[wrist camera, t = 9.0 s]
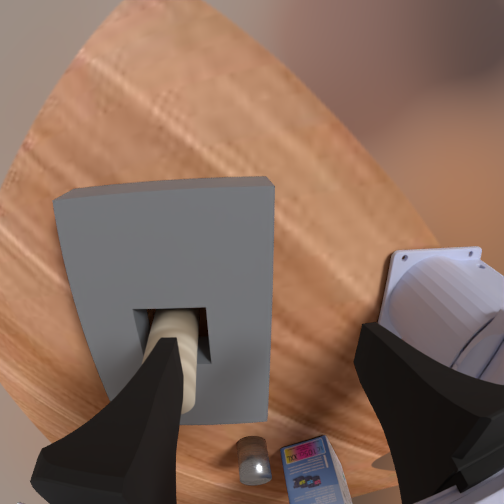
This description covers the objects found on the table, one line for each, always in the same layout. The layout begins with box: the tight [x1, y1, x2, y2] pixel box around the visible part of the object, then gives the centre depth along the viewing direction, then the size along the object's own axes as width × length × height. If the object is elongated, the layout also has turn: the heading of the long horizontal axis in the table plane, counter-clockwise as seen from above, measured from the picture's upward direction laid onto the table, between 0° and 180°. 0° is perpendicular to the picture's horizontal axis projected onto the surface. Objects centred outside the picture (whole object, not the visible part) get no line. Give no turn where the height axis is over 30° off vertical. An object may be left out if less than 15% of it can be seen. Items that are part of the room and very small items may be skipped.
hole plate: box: [53, 176, 275, 425], centre depth 20 cm, size 12×18×3 cm, turn 0°
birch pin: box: [142, 307, 200, 414], centre depth 18 cm, size 3×3×8 cm
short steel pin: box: [237, 436, 272, 485], centre depth 27 cm, size 3×3×4 cm
